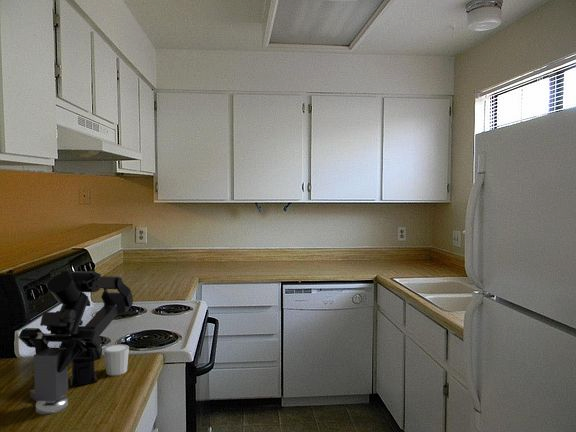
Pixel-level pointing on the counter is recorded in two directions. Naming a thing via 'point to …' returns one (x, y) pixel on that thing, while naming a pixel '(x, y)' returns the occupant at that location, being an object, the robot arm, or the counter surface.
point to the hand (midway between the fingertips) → (47, 371)
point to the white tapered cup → (116, 359)
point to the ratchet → (49, 404)
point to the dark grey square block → (49, 375)
